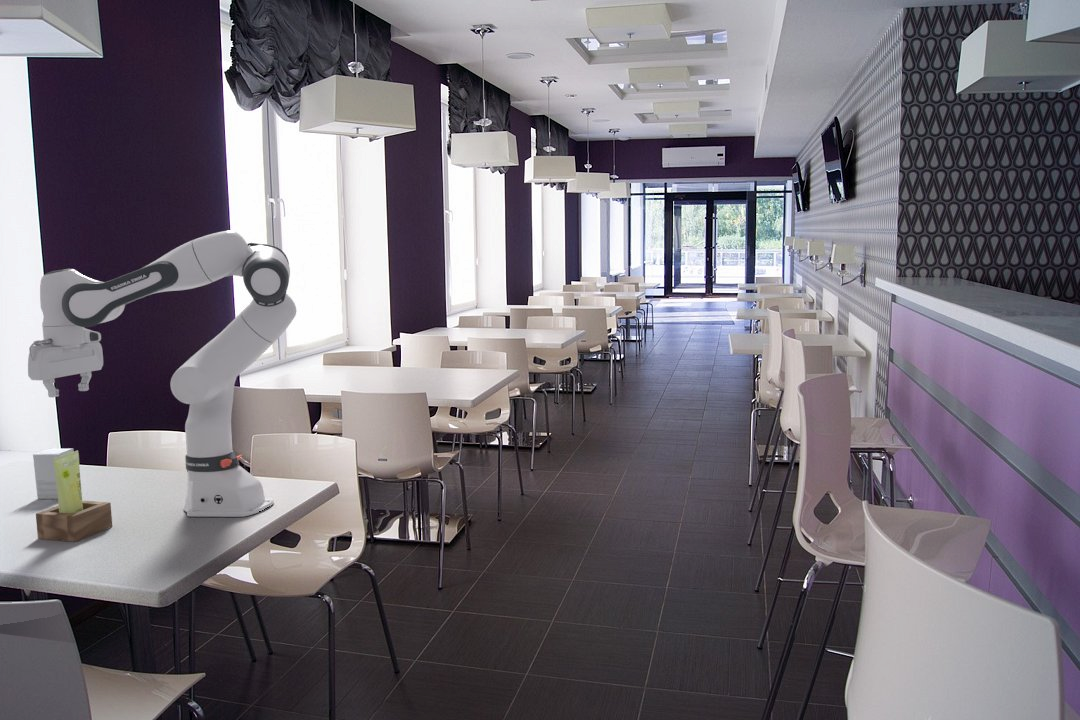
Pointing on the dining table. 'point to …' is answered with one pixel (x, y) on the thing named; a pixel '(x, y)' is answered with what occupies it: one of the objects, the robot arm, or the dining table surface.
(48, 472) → the supplement box
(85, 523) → the wooden box
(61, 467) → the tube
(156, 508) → the dining table surface
